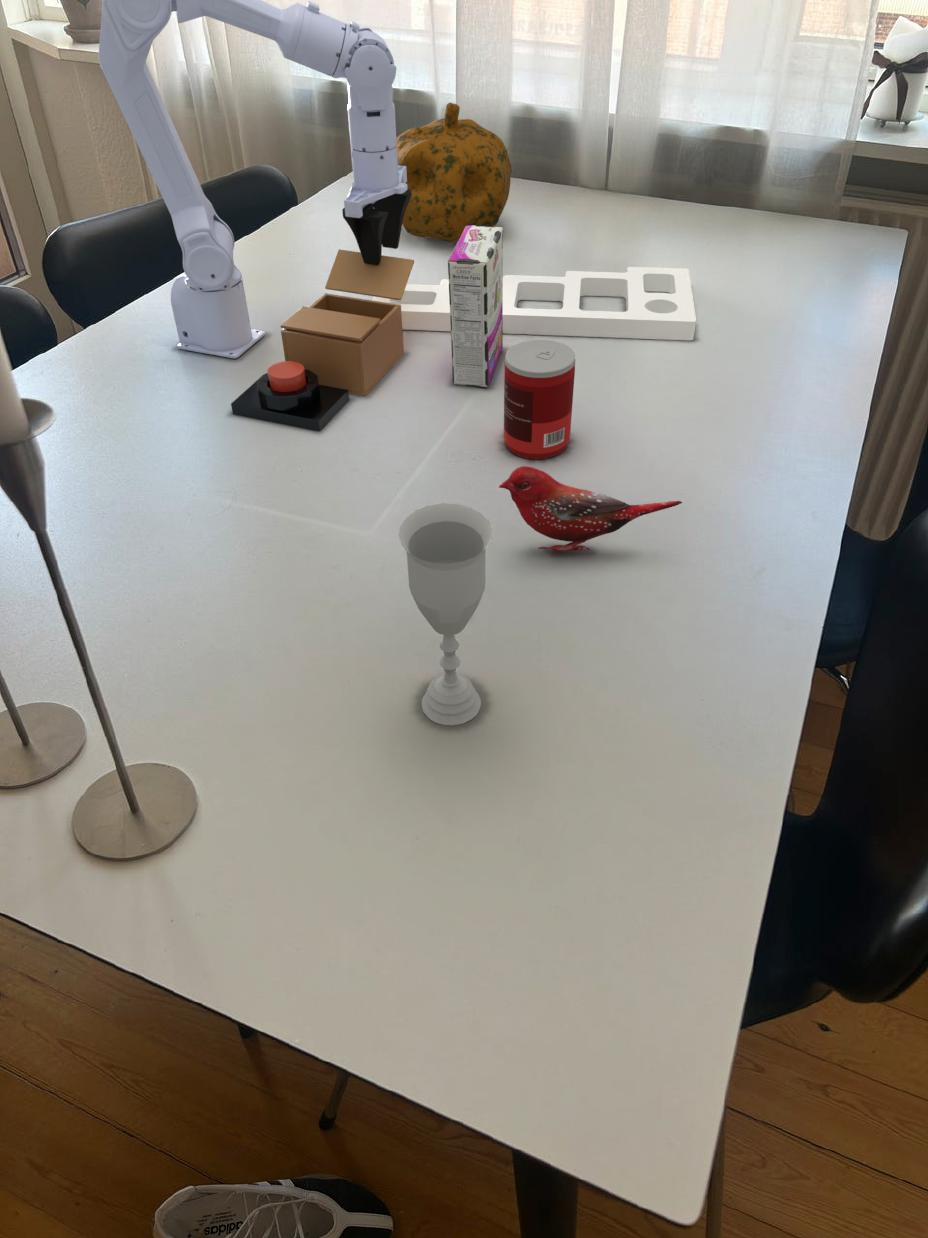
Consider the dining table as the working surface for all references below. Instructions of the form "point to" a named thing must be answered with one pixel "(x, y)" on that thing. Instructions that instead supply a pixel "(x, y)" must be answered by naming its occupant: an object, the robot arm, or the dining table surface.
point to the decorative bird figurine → (570, 509)
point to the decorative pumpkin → (453, 176)
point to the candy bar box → (476, 305)
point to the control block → (292, 403)
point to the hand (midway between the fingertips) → (381, 254)
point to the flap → (369, 275)
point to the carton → (345, 341)
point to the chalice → (447, 594)
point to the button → (287, 376)
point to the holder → (573, 305)
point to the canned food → (538, 398)
